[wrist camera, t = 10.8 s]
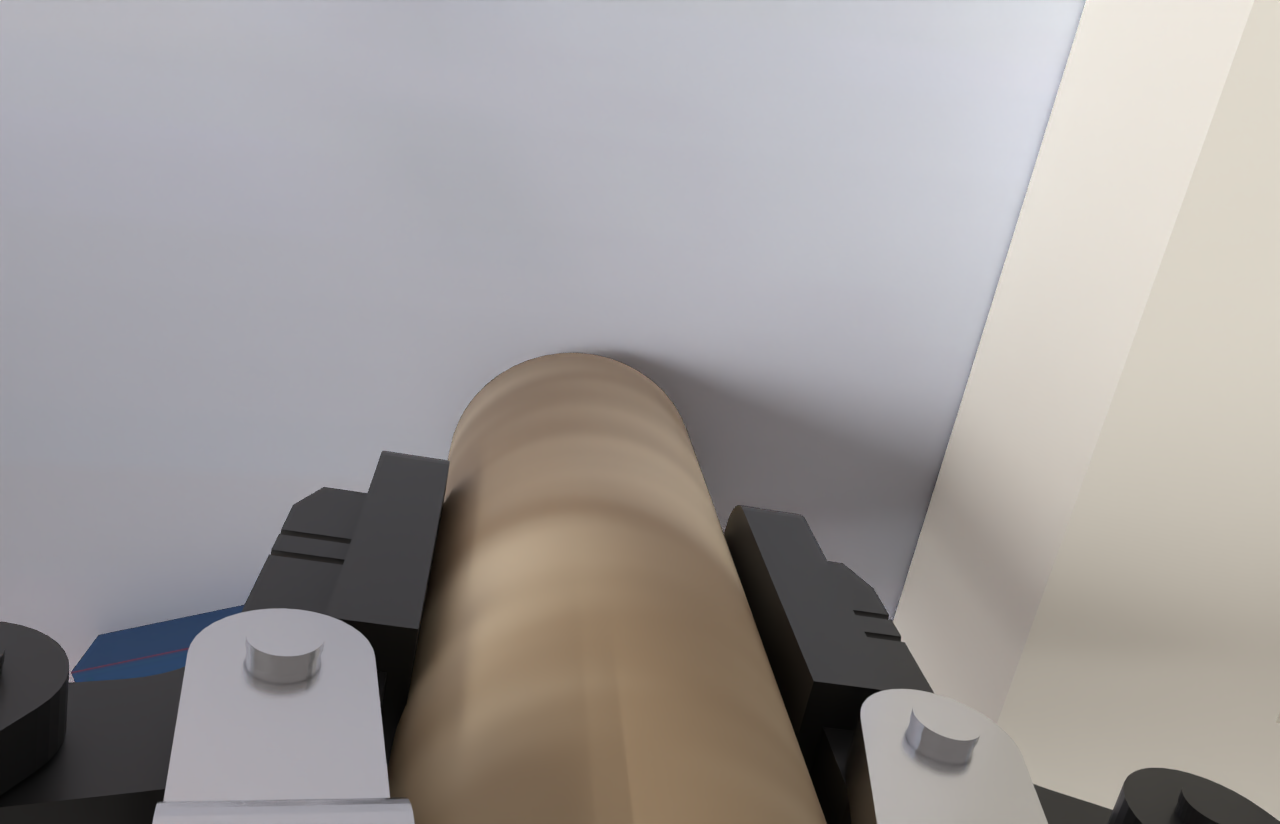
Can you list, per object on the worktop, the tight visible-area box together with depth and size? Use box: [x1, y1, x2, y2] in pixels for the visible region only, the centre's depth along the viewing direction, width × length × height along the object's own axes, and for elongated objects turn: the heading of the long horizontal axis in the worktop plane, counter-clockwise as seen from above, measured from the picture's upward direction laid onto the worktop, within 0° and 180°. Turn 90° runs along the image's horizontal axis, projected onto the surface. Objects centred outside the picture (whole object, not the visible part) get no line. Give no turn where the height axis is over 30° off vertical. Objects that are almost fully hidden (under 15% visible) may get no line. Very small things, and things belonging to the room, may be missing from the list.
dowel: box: [387, 353, 827, 824], centre depth 10 cm, size 3×3×10 cm
